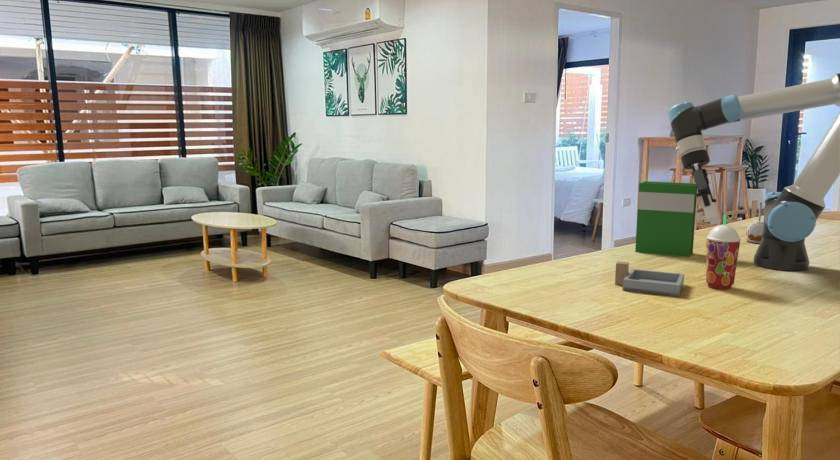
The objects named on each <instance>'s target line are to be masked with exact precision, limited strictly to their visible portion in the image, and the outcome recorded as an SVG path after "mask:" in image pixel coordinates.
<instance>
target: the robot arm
mask: <svg viewBox="0 0 840 460" xmlns="http://www.w3.org/2000/svg"><path fill="white" fill-rule="evenodd" d="M831 105H835V106H836V107H839V108H840V73H835V74H833V76H832V77H831V78H826V79H822V80H816V81H811V82H807V83H806V82H805V83H800V84H796V85H792V86H791V85H790V86H786V87H781V88H775V89H771V90H767V91H760V92H756V93H755V92H754V93H751V94H744V95H739V96H738V95H737V94H730V95H728V96H727V95H726V96H723V97H721V98H717V99H715V100H712V101H709V102H707V103H704V104H700V105H697V106H695V105H694V103H692V102H690V101H685V102H680V103H677V104H675V105H673V106H672V107H671V108H669V110H668V119H669V123H670V126H671V130H672V133H673V136H674V139H675V142H676V145H677V146H676V147H675V151H678V152H679V156H680V160H681V165H682V167H683V169H684V170H692V172H691V176H692V179H693V181H694V183H696V185H697V193H696V195H697V198H699V199H700V203H701V206H702V209H703V212H704V216H705V219H706V220H709V223H710V226H714V225H718V224H720V223H721V220H720V217H719V213H718V211H717V207H716V202H717V199H716V198H715V199H714V198H713V194H712V191H711V188H710V180H709V177H708V171H707V169H706V168H703V167H704V166H706V165H708V164H709V163H710V162H711V161H710V155H709V153H708V150H707V145H706V142H705V139H704V135H703V133H702V132H703V131H707V130H709V129H711V128H715V127H718V126H722V125H726V124H733V123H737V122H741V121H749V120H753V119H758V118H759V119H760V118H764V117H770V116H776V115H782V114H788V113H791V112H792V113H793V112H799V111H803V110H809V109H810V110H811V109H814V108H815V109H817V108H821V107H827V106H831ZM839 176H840V111H839V113H838V114H837V116H836V117H835V118H834V120H833V122H832V124H831V125H830V126H829V128H828V129H827V131H826V133H825V134H824V135H823V137H822V138H821V141H820V142H819V144H817V146H816V148H815V150H814V152H813V153H812V154H811V156H810V157H809V158H808V160H807V162H806V164H805V165H804V167H803V169H802V170H801V171H800V173H799V175H798V176H797V178H796V179H795V180H794V183H793V184H791V185H789V186H785V187H783V189H782V191H769V192H767V193H766V194H765V199H764V211H763V212H764V214H763V221H762V222H763V232H762V240H761V242H760V243H759V245H758V246H757V249H756V251H755V253H754V256H753V264H754V265H755V266H759V267H761V268H766V269H772V270H777V271H778V270H779V271H780V270H781V271H795V272H796V271H805V270H808V269H809V268H810V259H809V256H808V252H807V251H808V250H807V247H806V244H805V240H806V238H807V237H809V236H810V235H811V234H812V233H813V231H815V228H816V226H817V225H816V224H817V220H818V218H820V216H821V214H822V212H823V211H824V210H825V209H826V203H825V198H826V195H827V194H828V192H829V191H831V188H832V186H833V185H834V184H835V182H836V180H837V179H838V178H839Z"/></svg>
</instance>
